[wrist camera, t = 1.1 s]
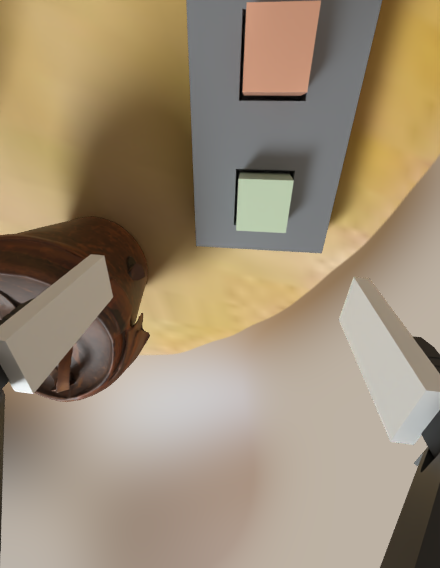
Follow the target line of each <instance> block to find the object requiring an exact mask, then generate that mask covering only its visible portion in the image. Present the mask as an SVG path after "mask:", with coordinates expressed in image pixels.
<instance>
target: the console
mask: <svg viewBox="0 0 440 568" xmlns="http://www.w3.org/2000/svg"><path fill="white" fill-rule="evenodd" d="M281 1H320V0H187V26H188V51H189V77H190V102H191V127H192V153H193V178H194V204H195V229H196V246H204V247H222V248H239V249H257V250H274V251H292V252H309V253H322V250H323V246H324V242H325V238H326V233H327V229H328V225H329V221H330V217H331V213H332V208H333V204H334V200H335V196H336V192H337V187H338V183H339V179H340V175H341V171H342V167H343V162H344V158H345V154H346V150H347V146H348V141H349V137H350V133H351V129H352V125H353V121H354V116H355V112H356V108H357V104H358V100H359V95H360V91H361V87H362V83H363V79H364V75H365V70H366V66H367V62H368V58H369V54H370V49H371V45H372V41H373V37H374V33H375V28H376V24H377V20H378V16H379V12H380V8H381V3H382V0H321V5H320V12H319V18H318V25H317V31H316V38H315V44H314V51H313V58H312V64H311V71H310V77H309V84H308V90H307V93H305V94H303V95H301V96H244V94H243V92H242V91H243V70H244V48H245V27H246V5H247V2H281ZM240 172H253V173H285V174H290V176H291V177H292V179H293V180H294V182H293V189H292V195H291V202H290V209H289V215H288V222H287V228H286V233H273V232H254V231H236V221H237V199H238V179H239V175H240Z"/></svg>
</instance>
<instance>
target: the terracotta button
mask: <svg viewBox="0 0 440 568" xmlns="http://www.w3.org/2000/svg"><path fill="white" fill-rule="evenodd" d="M320 5H321V0H320V1H281V2H247V5H246V27H245V48H244V70H243V91H242V92H243V94H244V96H301V95H303V94H305V93H307V90H308V84H309V77H310V71H311V64H312V58H313V51H314V44H315V38H316V31H317V25H318V18H319V12H320Z"/></svg>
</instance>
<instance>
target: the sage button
mask: <svg viewBox="0 0 440 568" xmlns="http://www.w3.org/2000/svg"><path fill="white" fill-rule="evenodd" d="M293 182H294V180H293V179H292V177H291V176H290V174H285V173H253V172H240V175H239V179H238V199H237V221H236V231H254V232H273V233H286V228H287V222H288V215H289V209H290V202H291V195H292V189H293Z"/></svg>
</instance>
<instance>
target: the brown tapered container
mask: <svg viewBox="0 0 440 568" xmlns="http://www.w3.org/2000/svg"><path fill="white" fill-rule="evenodd" d="M91 254H93V255H104V257H105V261H106V266H107V271H108V275H109V280H110V285H111V289H112V294H113V298H112V299H111V301H110V302H109V303H108V304H107V305H106V307H105V308H104V309H103V310H102V311H101V313H100V314H99V315H98V316H97V317H96V319H95V320H94V321H93V322H92V324H91V325H90V326H89V327H88V328H87V330H86V331H85V332H84V333H83V334H82V336H81V337H80V338H79V339H78V341H77V342H76V343H75V344H74V345H73V347H72V348H71V349H70V350H69V351H68V353H67V354H66V355H65V356H64V357H63V359H62V360H61V361H60V362H59V364H58V365H57V366H56V367H55V368H54V370H53V371H52V372H51V373H50V374H49V376H48V377H47V378H46V379H45V380H44V382H43V383H42V384H41V385H40V387H39V388H38V389H37V390H36V391H35V393H36V394H38V395H40V396H43V397H46V398H49V399H52V400H56V401H65V402H68V401H76V400H81V399H84V398H87V397H90V396H92V395H95V394H97V393H98V392H100V391H102V390H104V389H105V388H107V387H108V386H110V385H111V384H112V383H113V382H115V381H116V380H117V379H118V378H119V377H120V376H121V375H122V373H123V372H124V371H125V370H126V369H127V368H128V367H129V366H130V365H131V364H132V363H133V361H134V360H135V359H136V358H137V356H138V355H139V353H140V352H141V350H142V348H143V346H144V345H145V343H146V342H147V340H148V338H149V337H150V335H149V333H148V332H146V331H144V330H143V328H142V322H143V313H141V316H139V319H138V321H137V322H136V323H135V321H136V318H137V314H138V310H139V306H140V302H141V299H142V296H143V292H144V289H145V285H146V282H147V276H148V270H147V263H146V260H145V257H144V254H143V252H142V250H141V248H140V246H139V245H138V243H137V242H136V240H135V239H134V238H133V237H132V236H131V235H130V234H129V233H128V232H127V231H126V230H124V229H123V228H122V227H121V226H119V225H117V224H115V223H114V222H111V221H109V220H106V219H103V218H98V217H84V218H79V219H75V220H71V221H66V222H62V223H58V224H54V225H49V226H45V227H41V228H37V229H33V230H29V231H25V232H21V233H17V234H7V235H0V320H2V318H3V317H4V316H6V315H7V314H10V312H11V311H12V310H13V309H15V308H16V307H17V306H19V305H20V304H22V303H24V302H26V301H28V300H30V299H33V298H34V299H35V298H36V297H37V296H38V295H40V294H41V293H42V292H44V291H45V290H46V289H47V288H49V287H50V286H51V285H52V284H54V283H55V282H56V281H58V280H59V279H60V278H61V277H63V276H64V275H65V274H66V273H68V272H69V271H70V270H71V269H73V268H74V267H75V266H77V265H78V264H79V263H80V262H82V261H83V260H84V259H85V258H87V257H88V256H89V255H91Z"/></svg>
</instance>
